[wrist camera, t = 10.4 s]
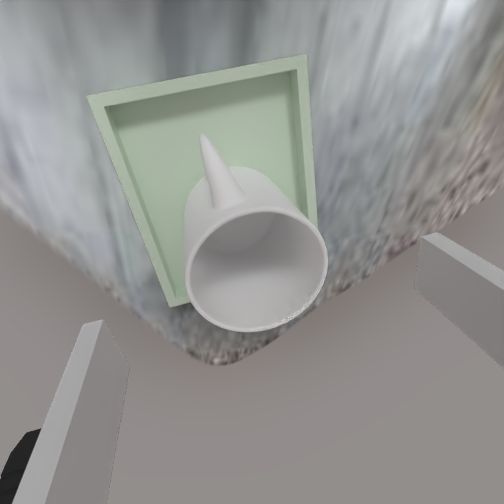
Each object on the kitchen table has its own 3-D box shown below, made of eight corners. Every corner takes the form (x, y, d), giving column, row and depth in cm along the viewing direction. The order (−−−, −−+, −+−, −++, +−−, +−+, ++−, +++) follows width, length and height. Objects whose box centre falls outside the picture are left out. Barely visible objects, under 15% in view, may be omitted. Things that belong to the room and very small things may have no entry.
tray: (94, 94, 22) (86, 95, 20) (296, 56, 23) (306, 53, 21) (170, 293, 31) (169, 307, 29) (312, 257, 32) (320, 268, 30)
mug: (251, 103, 23) (296, 115, 14) (290, 234, 29) (339, 302, 20) (146, 144, 23) (122, 183, 14) (206, 267, 29) (218, 351, 20)
